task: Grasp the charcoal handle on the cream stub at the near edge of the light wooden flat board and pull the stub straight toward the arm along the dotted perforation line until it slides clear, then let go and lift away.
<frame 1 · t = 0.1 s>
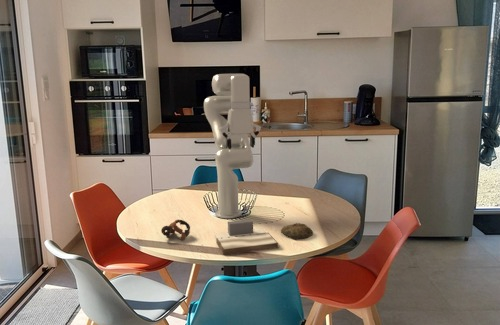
hand: (240, 147, 194), 37 cm above the table, tool pointing down, fingers open, 9 cm apart
light wooden flat board: (246, 245, 188), on the table
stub: (240, 229, 196), point 3 cm above the table, slide at 0.0 cm
bread roll: (297, 234, 200), on the table
rusty gear assembly: (175, 238, 197), on the table
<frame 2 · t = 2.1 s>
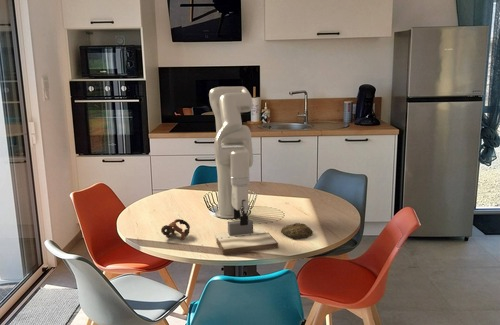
hand: (240, 221, 194), 7 cm above the table, tool pointing down, fingers open, 9 cm apart
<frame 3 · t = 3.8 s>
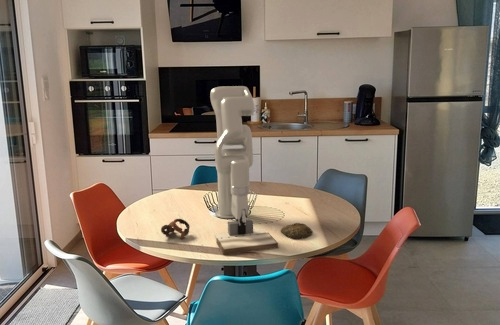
hand: (240, 232, 196), 2 cm above the table, tool pointing down, fingers closed on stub, 3 cm apart
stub: (240, 229, 196), point 3 cm above the table, slide at 0.0 cm, touching gripper
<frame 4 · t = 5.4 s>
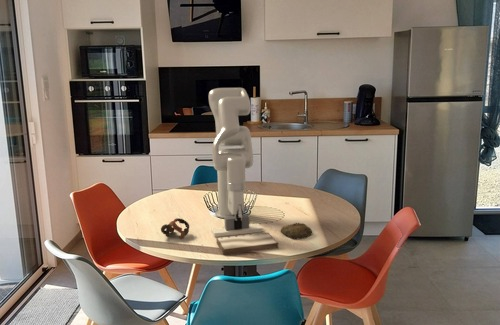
hand: (236, 227, 202), 2 cm above the table, tool pointing down, fingers closed on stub, 3 cm apart
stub: (236, 224, 202), point 3 cm above the table, slide at 6.1 cm, touching gripper
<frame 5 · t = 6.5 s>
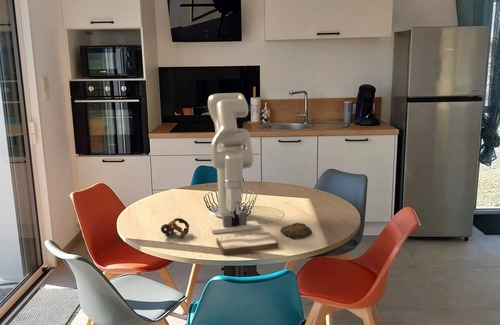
hand: (234, 224, 206), 2 cm above the table, tool pointing down, fingers closed on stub, 3 cm apart
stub: (234, 221, 205), point 3 cm above the table, slide at 10.1 cm, touching gripper
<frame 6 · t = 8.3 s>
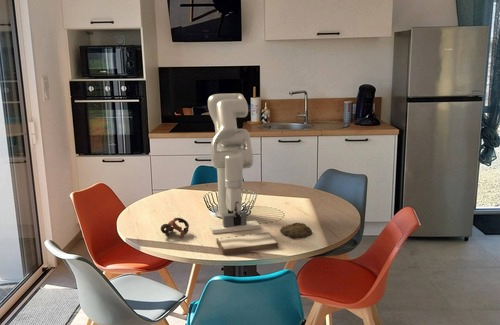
hand: (234, 221, 206), 3 cm above the table, tool pointing down, fingers open, 9 cm apart
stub: (234, 221, 205), point 3 cm above the table, slide at 10.1 cm
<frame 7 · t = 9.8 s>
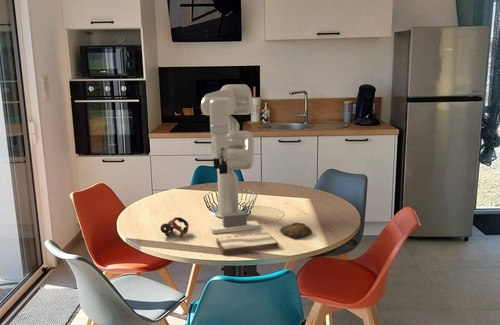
hand: (220, 171, 195), 27 cm above the table, tool pointing down, fingers open, 9 cm apart
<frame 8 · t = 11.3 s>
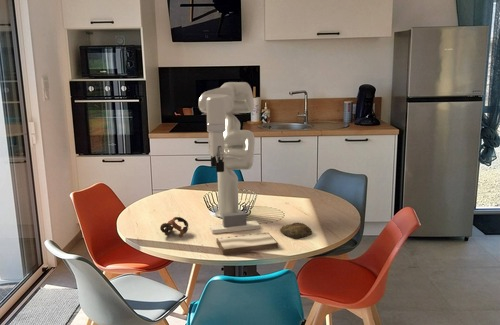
hand: (217, 169, 194), 28 cm above the table, tool pointing down, fingers open, 9 cm apart
at the end: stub slide at 10.1 cm; the gripper is holding nothing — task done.
